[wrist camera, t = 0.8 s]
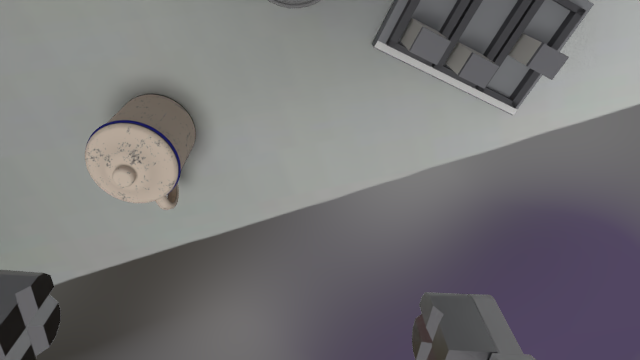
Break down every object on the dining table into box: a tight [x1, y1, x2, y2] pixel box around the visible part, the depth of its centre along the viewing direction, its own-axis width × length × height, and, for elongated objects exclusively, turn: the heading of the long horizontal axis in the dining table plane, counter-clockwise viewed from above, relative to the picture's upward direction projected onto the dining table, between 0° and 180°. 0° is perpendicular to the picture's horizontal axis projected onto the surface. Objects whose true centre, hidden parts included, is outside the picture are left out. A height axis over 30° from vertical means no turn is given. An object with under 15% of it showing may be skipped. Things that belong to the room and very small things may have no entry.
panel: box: [372, 0, 594, 115], centre depth 44 cm, size 13×18×2 cm
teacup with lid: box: [85, 95, 195, 210], centre depth 46 cm, size 12×9×12 cm
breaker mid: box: [445, 42, 499, 88], centre depth 43 cm, size 2×3×5 cm
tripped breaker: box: [508, 33, 569, 80], centre depth 43 cm, size 2×3×5 cm
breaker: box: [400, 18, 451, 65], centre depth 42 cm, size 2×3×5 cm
